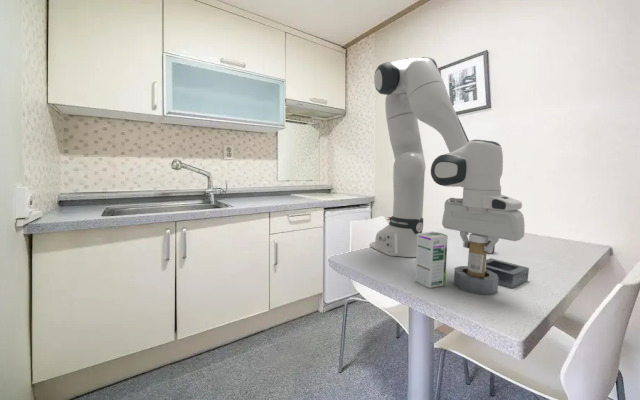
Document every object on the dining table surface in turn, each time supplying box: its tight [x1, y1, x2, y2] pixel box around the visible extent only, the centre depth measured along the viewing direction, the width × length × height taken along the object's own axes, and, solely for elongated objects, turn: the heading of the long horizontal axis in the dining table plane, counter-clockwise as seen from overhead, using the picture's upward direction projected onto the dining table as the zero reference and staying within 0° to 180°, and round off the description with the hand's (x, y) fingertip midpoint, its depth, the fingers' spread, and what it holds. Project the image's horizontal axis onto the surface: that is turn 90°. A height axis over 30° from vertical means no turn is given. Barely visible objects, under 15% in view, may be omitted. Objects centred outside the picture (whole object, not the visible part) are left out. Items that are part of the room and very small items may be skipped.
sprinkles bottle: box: [467, 233, 489, 277], centre depth 76 cm, size 5×5×13 cm
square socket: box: [486, 258, 530, 289], centre depth 83 cm, size 10×10×4 cm
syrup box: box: [415, 231, 449, 289], centre depth 78 cm, size 6×6×14 cm
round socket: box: [453, 265, 499, 296], centre depth 76 cm, size 10×10×4 cm
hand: (477, 250), depth 76 cm, fingers closed on sprinkles bottle, 4 cm apart
